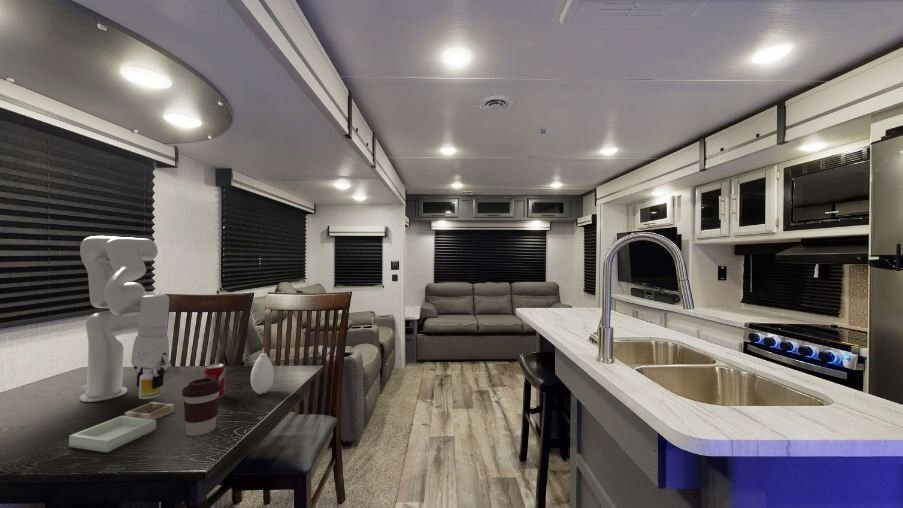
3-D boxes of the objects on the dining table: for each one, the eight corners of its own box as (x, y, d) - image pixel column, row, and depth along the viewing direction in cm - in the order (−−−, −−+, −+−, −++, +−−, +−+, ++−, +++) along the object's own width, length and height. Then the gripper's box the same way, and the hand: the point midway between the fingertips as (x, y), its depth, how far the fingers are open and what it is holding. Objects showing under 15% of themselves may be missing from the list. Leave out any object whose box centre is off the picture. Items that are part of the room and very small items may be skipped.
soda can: (213, 402, 129) (214, 368, 130) (198, 400, 131) (199, 367, 131) (228, 395, 136) (229, 363, 136) (213, 393, 137) (215, 362, 138)
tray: (68, 446, 97) (69, 435, 97) (121, 425, 110) (121, 415, 110) (106, 452, 95) (107, 440, 95) (155, 430, 107) (156, 420, 107)
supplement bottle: (163, 395, 119) (164, 366, 119) (143, 400, 114) (145, 370, 114) (154, 392, 121) (156, 363, 121) (135, 397, 116) (136, 367, 116)
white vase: (245, 395, 136) (247, 348, 137) (263, 388, 144) (264, 344, 144) (260, 398, 134) (262, 350, 134) (277, 391, 141) (278, 346, 141)
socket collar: (124, 420, 113) (124, 412, 113) (152, 409, 122) (152, 401, 122) (146, 423, 112) (147, 415, 112) (173, 411, 120) (173, 404, 120)
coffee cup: (189, 442, 101) (191, 389, 101) (174, 433, 106) (176, 382, 106) (226, 429, 109) (228, 379, 109) (211, 420, 114) (212, 374, 115)
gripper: (119, 331, 116) (116, 387, 115) (163, 336, 112) (160, 393, 112) (143, 327, 123) (140, 379, 123) (185, 331, 120) (182, 385, 120)
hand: (149, 385), depth 117 cm, fingers closed on supplement bottle, 5 cm apart
